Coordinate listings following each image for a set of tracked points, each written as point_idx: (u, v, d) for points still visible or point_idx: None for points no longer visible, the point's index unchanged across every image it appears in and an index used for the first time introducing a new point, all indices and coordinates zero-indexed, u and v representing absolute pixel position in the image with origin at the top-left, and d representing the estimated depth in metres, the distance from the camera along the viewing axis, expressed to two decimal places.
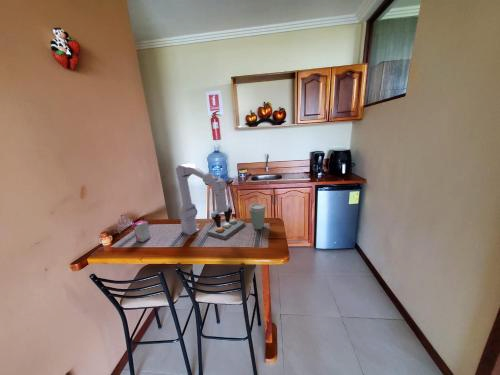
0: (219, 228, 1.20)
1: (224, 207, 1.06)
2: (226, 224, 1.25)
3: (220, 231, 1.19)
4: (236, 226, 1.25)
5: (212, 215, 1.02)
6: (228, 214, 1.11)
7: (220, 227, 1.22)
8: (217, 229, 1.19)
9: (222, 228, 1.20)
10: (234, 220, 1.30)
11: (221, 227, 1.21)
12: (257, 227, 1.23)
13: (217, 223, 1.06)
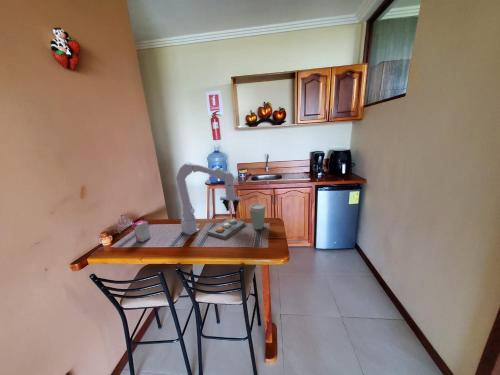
0: (219, 228, 1.20)
1: (227, 196, 1.24)
2: (226, 224, 1.25)
3: (220, 231, 1.19)
4: (236, 226, 1.25)
5: None
6: None
7: (220, 227, 1.22)
8: (217, 229, 1.19)
9: (222, 228, 1.20)
10: (234, 220, 1.30)
11: (221, 227, 1.21)
12: (257, 227, 1.23)
13: None
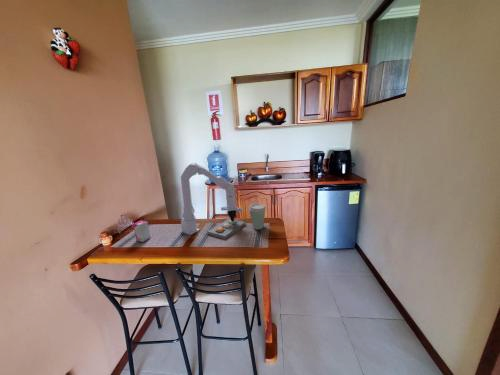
0: (219, 228, 1.20)
1: (228, 207, 1.26)
2: (226, 224, 1.25)
3: (220, 231, 1.19)
4: (236, 226, 1.25)
5: None
6: None
7: (220, 227, 1.22)
8: (217, 229, 1.19)
9: (222, 228, 1.20)
10: (234, 220, 1.30)
11: (221, 227, 1.21)
12: (257, 227, 1.23)
13: None
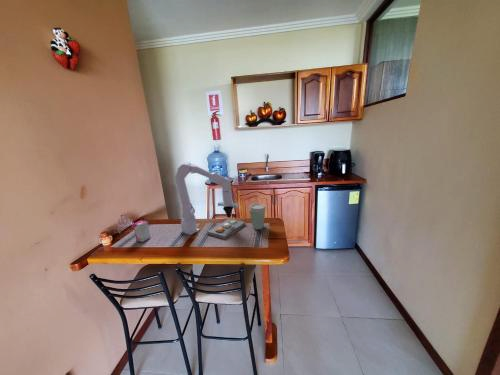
0: (219, 228, 1.20)
1: (224, 202, 1.22)
2: (226, 224, 1.25)
3: (220, 231, 1.19)
4: (236, 226, 1.25)
5: None
6: None
7: (220, 227, 1.22)
8: (217, 229, 1.19)
9: (222, 228, 1.20)
10: (234, 221, 1.31)
11: (221, 227, 1.21)
12: (257, 227, 1.23)
13: None
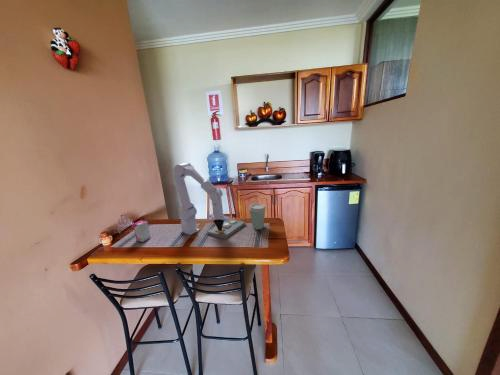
0: None
1: (214, 215, 1.16)
2: (226, 224, 1.25)
3: None
4: (236, 226, 1.25)
5: None
6: None
7: None
8: (217, 230, 1.19)
9: (222, 229, 1.20)
10: (234, 221, 1.31)
11: None
12: (257, 227, 1.23)
13: None
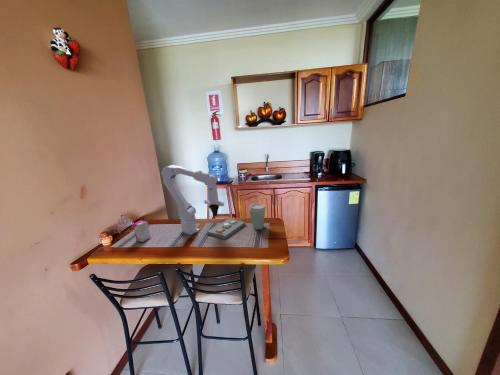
0: (219, 229, 1.20)
1: (209, 200, 1.19)
2: (226, 224, 1.25)
3: None
4: (236, 226, 1.25)
5: None
6: None
7: None
8: (217, 231, 1.19)
9: (222, 229, 1.20)
10: (234, 221, 1.31)
11: None
12: (257, 227, 1.23)
13: None
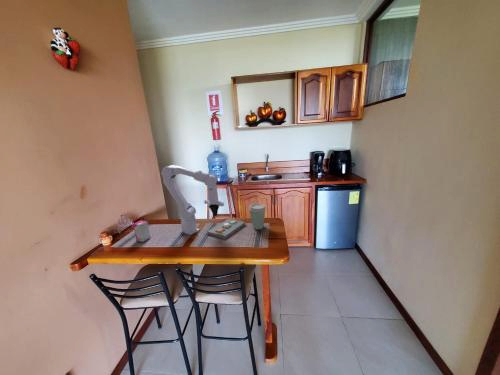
0: (219, 229, 1.20)
1: (209, 200, 1.19)
2: (226, 224, 1.25)
3: None
4: (236, 226, 1.25)
5: None
6: None
7: None
8: (217, 231, 1.19)
9: (222, 229, 1.20)
10: (234, 221, 1.31)
11: None
12: (257, 227, 1.23)
13: None
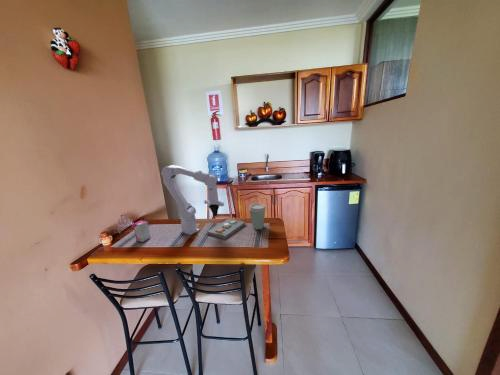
0: (219, 229, 1.20)
1: (209, 200, 1.19)
2: (226, 224, 1.25)
3: None
4: (236, 226, 1.25)
5: None
6: None
7: None
8: (217, 231, 1.19)
9: (222, 229, 1.20)
10: (234, 221, 1.31)
11: None
12: (257, 227, 1.23)
13: None
